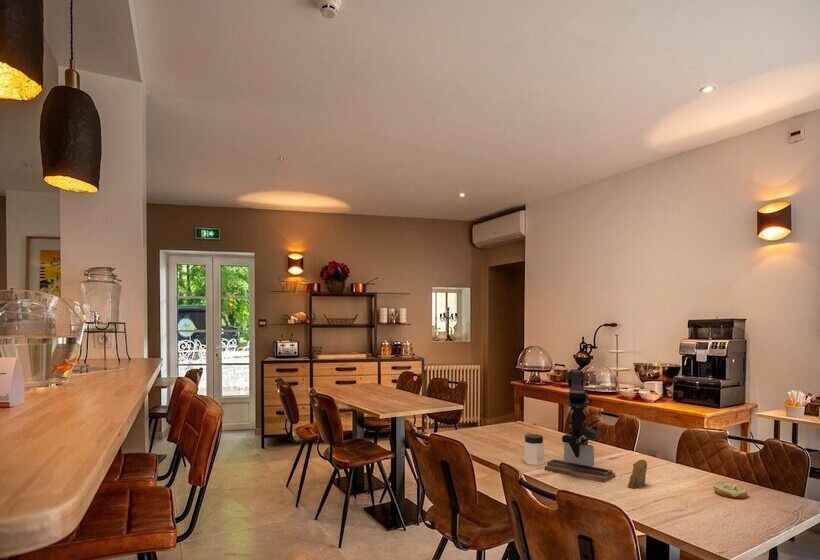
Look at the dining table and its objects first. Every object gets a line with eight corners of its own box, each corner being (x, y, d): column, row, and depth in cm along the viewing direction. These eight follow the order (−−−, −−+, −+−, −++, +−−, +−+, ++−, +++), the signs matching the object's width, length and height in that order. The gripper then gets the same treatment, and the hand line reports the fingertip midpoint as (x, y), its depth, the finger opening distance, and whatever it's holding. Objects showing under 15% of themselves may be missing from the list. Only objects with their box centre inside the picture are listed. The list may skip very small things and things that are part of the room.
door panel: (566, 460, 225) (566, 441, 225) (594, 465, 217) (593, 445, 217) (564, 461, 223) (563, 442, 223) (591, 466, 215) (591, 446, 215)
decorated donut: (739, 502, 185) (738, 491, 186) (708, 493, 194) (707, 483, 195) (752, 496, 191) (752, 485, 192) (721, 488, 200) (721, 478, 200)
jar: (534, 466, 229) (533, 438, 230) (520, 462, 236) (520, 435, 237) (548, 463, 234) (547, 436, 235) (534, 459, 241) (534, 433, 242)
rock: (635, 485, 196) (657, 479, 199) (623, 463, 202) (645, 457, 204) (623, 495, 204) (644, 489, 207) (611, 474, 210) (632, 468, 212)
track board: (556, 464, 232) (556, 458, 232) (614, 476, 215) (614, 469, 215) (544, 470, 224) (544, 463, 224) (604, 482, 206) (604, 474, 207)
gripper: (587, 425, 209) (588, 465, 208) (605, 418, 223) (606, 456, 221) (561, 421, 216) (561, 459, 215) (580, 415, 230) (581, 451, 229)
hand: (578, 456), depth 220 cm, fingers closed on door panel, 2 cm apart
